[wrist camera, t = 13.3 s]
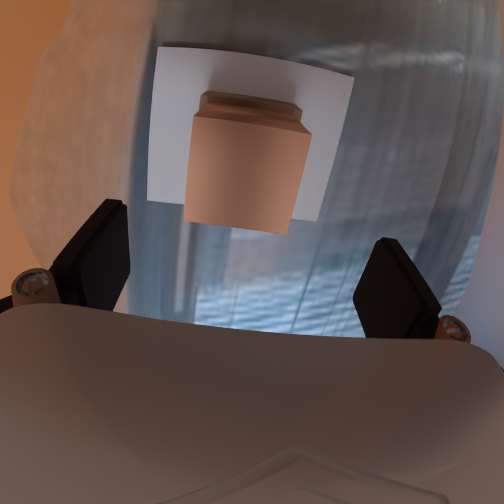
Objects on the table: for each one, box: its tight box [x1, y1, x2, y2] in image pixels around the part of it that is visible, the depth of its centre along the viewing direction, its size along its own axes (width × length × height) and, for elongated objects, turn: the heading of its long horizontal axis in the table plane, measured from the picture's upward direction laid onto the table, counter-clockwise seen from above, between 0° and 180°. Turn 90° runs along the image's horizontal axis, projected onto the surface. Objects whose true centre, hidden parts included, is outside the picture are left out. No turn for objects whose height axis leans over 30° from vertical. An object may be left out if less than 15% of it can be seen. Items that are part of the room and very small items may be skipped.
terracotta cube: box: [183, 102, 312, 235], centre depth 18 cm, size 6×6×6 cm
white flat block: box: [147, 47, 355, 222], centre depth 23 cm, size 16×14×5 cm
